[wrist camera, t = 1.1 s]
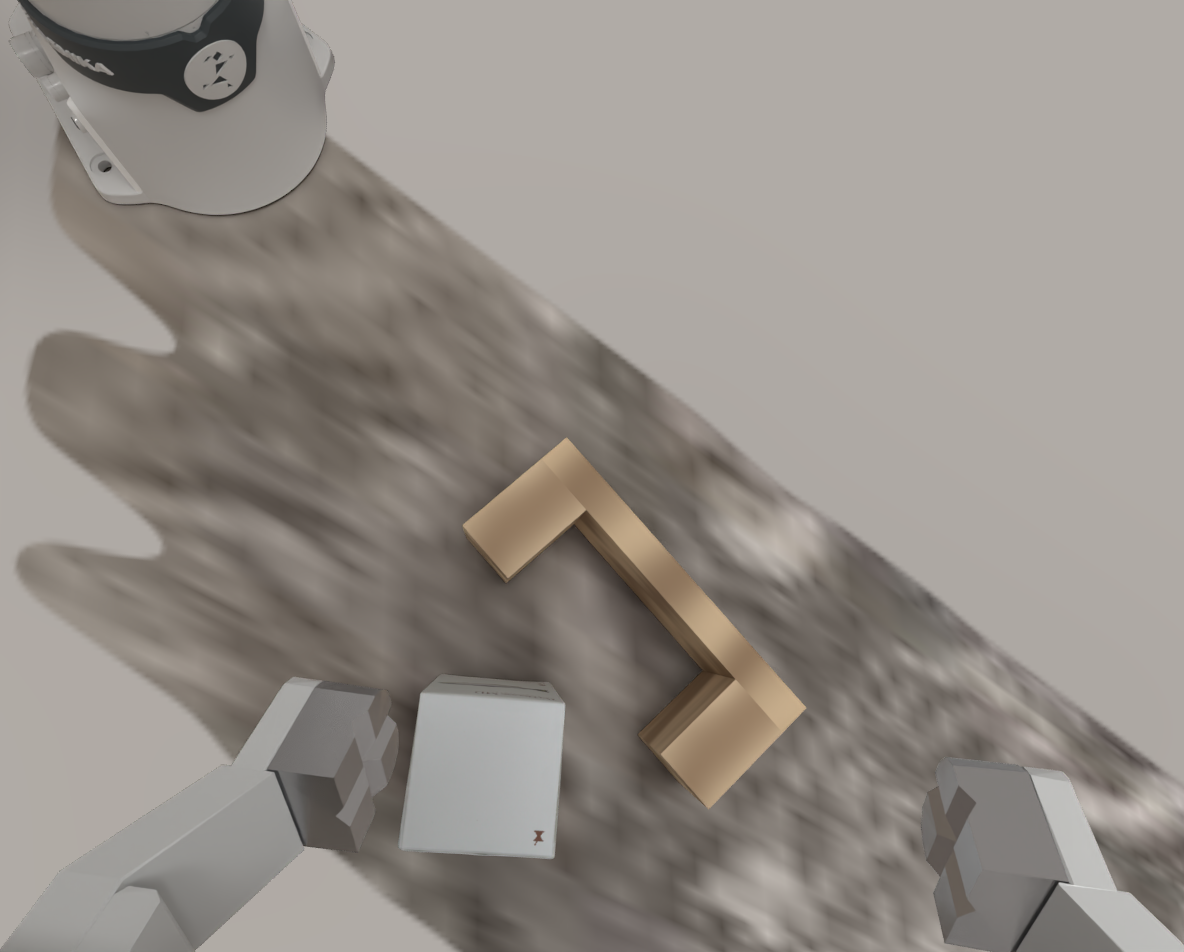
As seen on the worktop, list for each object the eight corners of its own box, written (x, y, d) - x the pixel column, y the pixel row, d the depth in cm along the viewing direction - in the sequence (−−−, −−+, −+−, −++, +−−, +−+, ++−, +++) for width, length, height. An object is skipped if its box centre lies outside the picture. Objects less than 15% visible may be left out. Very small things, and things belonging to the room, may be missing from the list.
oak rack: (466, 537, 50) (462, 525, 43) (557, 461, 51) (566, 437, 45) (678, 782, 49) (708, 809, 42) (764, 695, 50) (806, 707, 43)
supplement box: (553, 679, 49) (572, 701, 36) (540, 801, 47) (556, 866, 35) (438, 669, 48) (418, 688, 36) (422, 792, 47) (395, 855, 34)
